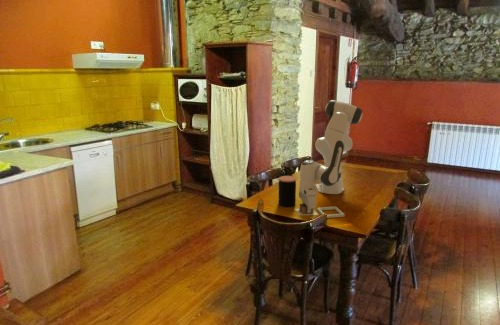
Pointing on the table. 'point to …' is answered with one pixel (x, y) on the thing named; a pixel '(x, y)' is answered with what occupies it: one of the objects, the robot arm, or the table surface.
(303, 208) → the brown square block
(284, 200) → the coffee jar
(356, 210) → the table surface
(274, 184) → the table surface
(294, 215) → the table surface
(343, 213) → the grey square frame
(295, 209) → the stake
